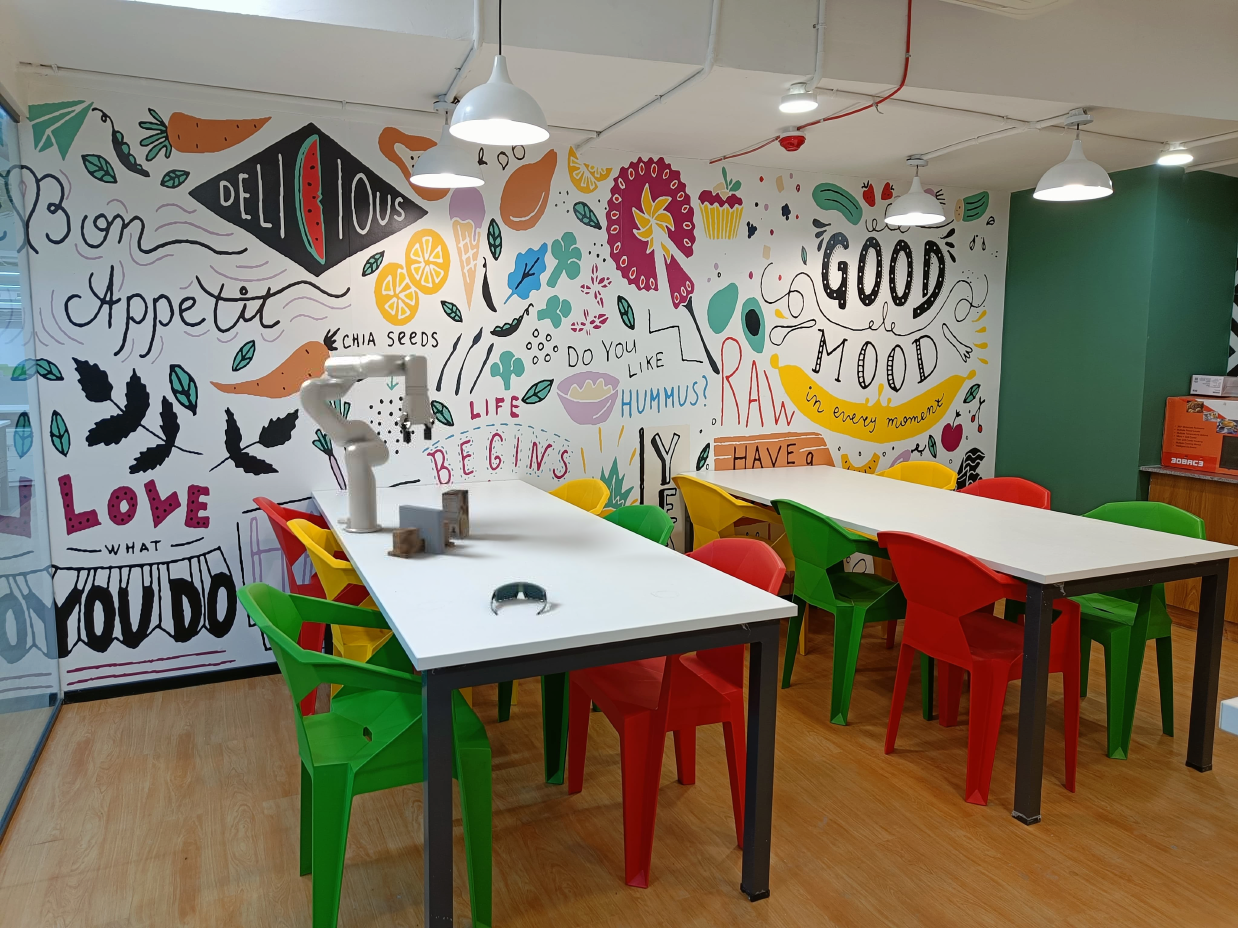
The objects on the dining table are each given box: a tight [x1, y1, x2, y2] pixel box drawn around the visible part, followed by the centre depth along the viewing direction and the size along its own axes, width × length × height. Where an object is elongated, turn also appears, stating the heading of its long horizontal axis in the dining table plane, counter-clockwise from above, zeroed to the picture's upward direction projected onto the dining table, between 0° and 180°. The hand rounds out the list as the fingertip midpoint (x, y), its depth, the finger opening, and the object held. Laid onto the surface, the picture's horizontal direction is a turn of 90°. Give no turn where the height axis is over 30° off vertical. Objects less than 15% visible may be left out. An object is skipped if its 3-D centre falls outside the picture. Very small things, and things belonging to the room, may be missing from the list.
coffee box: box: [441, 488, 470, 540], centre depth 297 cm, size 9×6×16 cm
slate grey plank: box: [398, 504, 446, 556], centre depth 276 cm, size 17×3×14 cm, turn 58°
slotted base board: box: [387, 521, 456, 560], centre depth 277 cm, size 22×8×8 cm, turn 147°
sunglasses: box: [489, 581, 548, 616], centre depth 217 cm, size 14×15×5 cm
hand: (417, 441), depth 296 cm, fingers open, 9 cm apart
